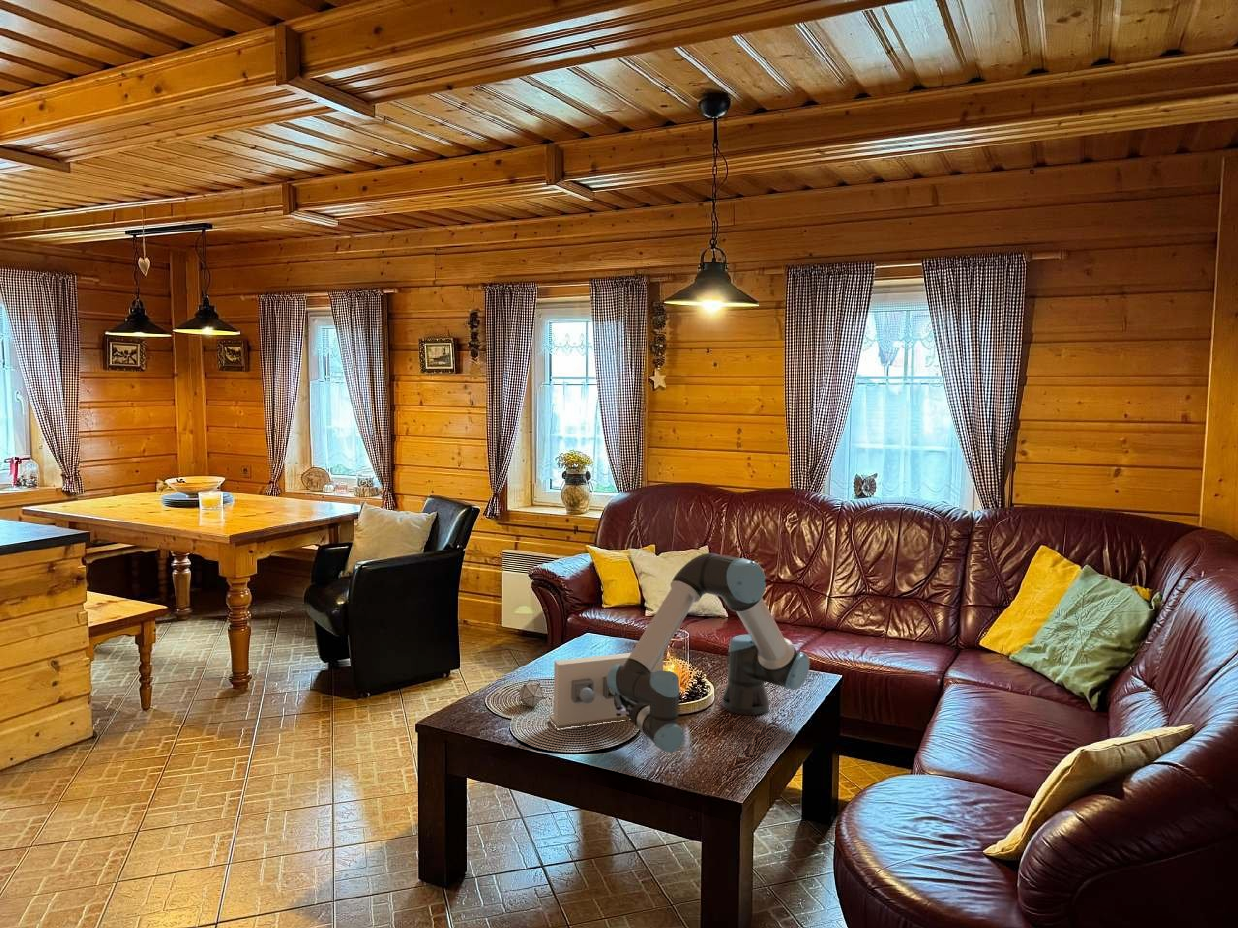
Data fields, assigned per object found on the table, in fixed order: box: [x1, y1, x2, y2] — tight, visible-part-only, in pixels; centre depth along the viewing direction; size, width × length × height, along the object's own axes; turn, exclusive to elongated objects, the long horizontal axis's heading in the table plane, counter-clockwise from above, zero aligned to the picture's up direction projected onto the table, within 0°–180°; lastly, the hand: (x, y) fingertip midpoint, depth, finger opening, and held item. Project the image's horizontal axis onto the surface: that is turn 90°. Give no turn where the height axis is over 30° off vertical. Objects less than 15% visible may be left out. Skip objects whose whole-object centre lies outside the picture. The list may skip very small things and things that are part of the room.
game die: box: [516, 678, 546, 709], centre depth 265 cm, size 9×8×10 cm
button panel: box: [549, 652, 665, 728], centre depth 255 cm, size 11×34×20 cm, turn 112°
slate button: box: [579, 687, 595, 703], centre depth 244 cm, size 2×4×4 cm, turn 112°
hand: (616, 688), depth 249 cm, fingers closed
